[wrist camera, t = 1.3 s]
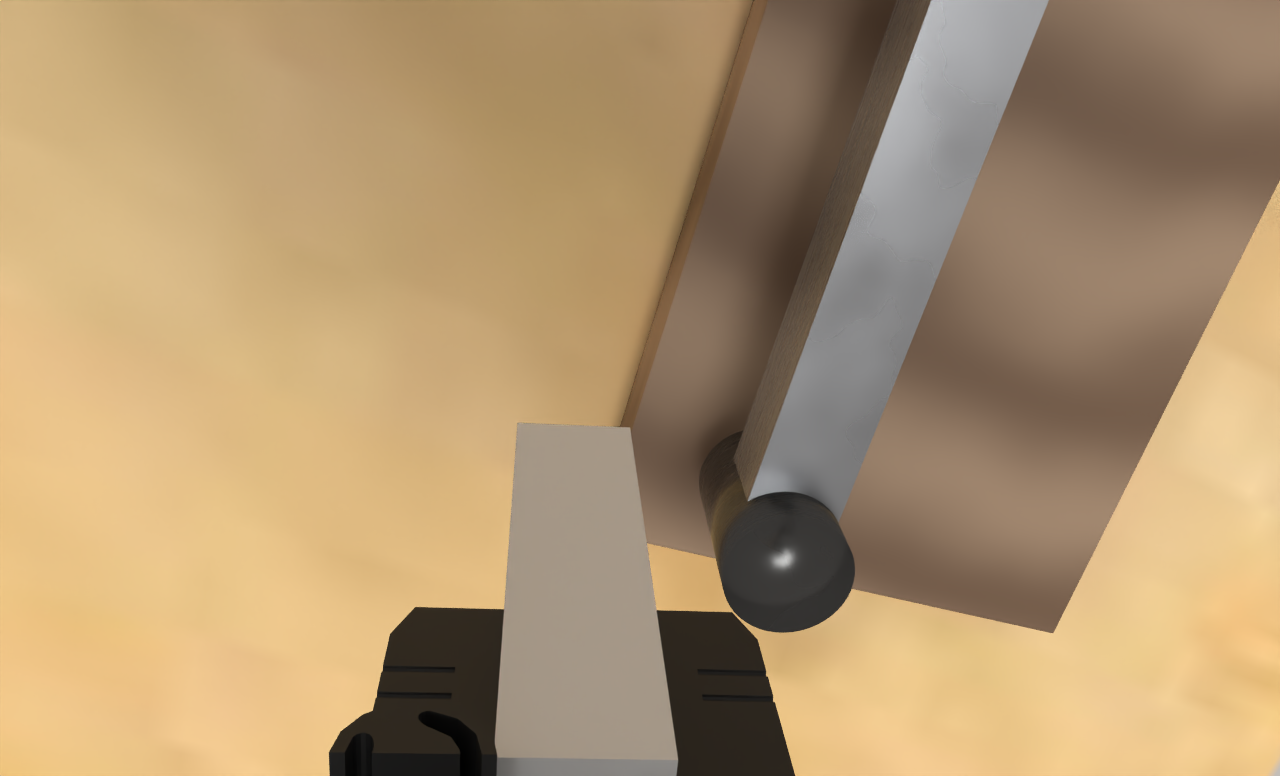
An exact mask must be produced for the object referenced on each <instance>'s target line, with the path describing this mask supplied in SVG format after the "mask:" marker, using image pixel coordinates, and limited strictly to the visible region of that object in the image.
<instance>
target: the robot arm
mask: <svg viewBox="0 0 1280 776" xmlns="http://www.w3.org/2000/svg"><path fill="white" fill-rule="evenodd" d="M329 767H330V776H795V774H794V770H793V766H792V763H791V759H790V756H789V752H788V748H787V745H786V741H785V737H784V734H783V730H782V727H781V723H780V719H779V716H778V712H777V709H776V705H775V702H773V694H772V690H771V687H770V683H769V680H768V677H766V669H765V665H764V662H763V658H762V654H761V651H760V647H759V643H758V640H757V639H756V638H755V637H754V635H753V634H752V633H751V632H750V631H749V630H748V629H747V628H746V627H745V626H744V625H743V624H742V623H741V622H740V620H739V619H738V618H737V617H736V616H735V615H734V614H733V613H732V612H698V611H660V610H656V603H655V597H654V590H653V583H652V576H651V569H650V562H649V555H648V548H647V541H646V534H645V527H644V520H643V514H642V507H641V500H640V493H639V486H638V479H637V472H636V465H635V458H634V451H633V444H632V438H631V431H630V427H606V426H582V425H558V424H534V423H517V437H516V451H515V465H514V479H513V493H512V507H511V521H510V535H509V549H508V563H507V577H506V591H505V605H504V609H466V608H428V607H415V608H414V609H413V610H412V611H411V612H410V614H409V615H408V616H407V617H406V618H405V619H404V620H403V621H402V622H401V623H400V624H399V625H398V626H397V627H396V628H395V629H394V631H393V632H392V633H391V634H390V637H389V642H388V646H387V651H386V655H385V659H384V664H383V672H382V673H381V677H380V682H379V686H378V690H377V698H376V699H375V704H374V708H373V711H371V712H369V713H366V714H363V715H362V716H360V717H359V718H358V719H356V720H355V721H354V722H353V723H351V724H350V725H349V726H347V727H346V728H345V729H343V730H342V731H341V732H340V734H339V736H338V737H337V739H336V741H335V743H334V744H333V746H332V748H331V750H330V752H329Z"/></svg>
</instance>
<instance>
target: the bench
mask: <svg viewBox="0 0 1280 776" xmlns="http://www.w3.org/2000/svg"><path fill="white" fill-rule="evenodd" d="M896 1H897V0H754V1H753V4H752V7H751V10H750V14H749V17H748V20H747V23H746V26H745V30H744V33H743V36H742V39H741V42H740V46H739V49H738V52H737V55H736V58H735V62H734V65H733V68H732V71H731V74H730V78H729V81H728V84H727V87H726V90H725V93H724V97H723V100H722V103H721V106H720V109H719V113H718V116H717V119H716V122H715V125H714V129H713V132H712V135H711V138H710V141H709V145H708V148H707V151H706V154H705V157H704V161H703V164H702V167H701V170H700V173H699V177H698V180H697V183H696V186H695V189H694V193H693V196H692V199H691V202H690V205H689V209H688V212H687V215H686V218H685V221H684V224H683V228H682V231H681V234H680V237H679V240H678V244H677V247H676V250H675V253H674V256H673V260H672V263H671V266H670V269H669V272H668V276H667V279H666V282H665V285H664V288H663V292H662V295H661V298H660V301H659V304H658V308H657V311H656V314H655V317H654V320H653V324H652V327H651V330H650V333H649V336H648V339H647V343H646V346H645V349H644V352H643V355H642V359H641V362H640V365H639V368H638V371H637V375H636V378H635V381H634V384H633V387H632V391H631V394H630V397H629V400H628V403H627V407H626V410H625V413H624V416H623V419H622V423H621V426H620V427H630V431H631V438H632V444H633V451H634V458H635V465H636V472H637V479H638V486H639V493H640V500H641V507H642V514H643V520H644V527H645V534H646V541H647V543H649V544H653V545H658V546H662V547H667V548H671V549H676V550H680V551H685V552H689V553H694V554H698V555H703V556H707V557H712V558H716V557H715V553H714V549H713V545H712V541H711V537H710V532H709V528H708V524H707V520H706V516H705V512H704V508H703V504H702V500H701V496H700V490H699V475H700V471H701V467H702V465H703V462H704V460H705V459H706V457H707V455H708V454H709V453H710V451H711V450H712V449H713V448H714V447H715V446H716V445H717V444H718V443H719V442H720V441H722V440H723V439H725V438H726V437H728V436H730V435H732V434H734V433H736V432H739V431H742V430H744V427H745V425H746V422H747V419H748V416H749V413H750V411H751V408H752V405H753V402H754V399H755V397H756V394H757V391H758V388H759V385H760V382H761V380H762V377H763V374H764V371H765V368H766V366H767V363H768V360H769V357H770V354H771V352H772V349H773V346H774V343H775V340H776V338H777V335H778V332H779V329H780V326H781V324H782V321H783V318H784V315H785V312H786V310H787V307H788V304H789V301H790V298H791V296H792V293H793V290H794V287H795V284H796V281H797V279H798V276H799V273H800V270H801V267H802V265H803V262H804V259H805V256H806V253H807V251H808V248H809V245H810V242H811V239H812V237H813V234H814V231H815V228H816V225H817V223H818V220H819V217H820V214H821V211H822V209H823V206H824V203H825V200H826V197H827V195H828V192H829V189H830V186H831V183H832V180H833V178H834V175H835V172H836V169H837V166H838V164H839V161H840V158H841V155H842V152H843V150H844V147H845V144H846V141H847V138H848V136H849V133H850V130H851V127H852V124H853V122H854V119H855V116H856V113H857V110H858V108H859V105H860V102H861V99H862V96H863V94H864V91H865V88H866V85H867V82H868V79H869V77H870V74H871V71H872V68H873V65H874V63H875V60H876V57H877V54H878V51H879V49H880V46H881V43H882V40H883V37H884V35H885V32H886V29H887V26H888V23H889V21H890V18H891V15H892V12H893V9H894V7H895V4H896ZM1279 180H1280V0H1049V1H1048V4H1047V6H1046V9H1045V11H1044V14H1043V16H1042V19H1041V21H1040V23H1039V26H1038V28H1037V31H1036V33H1035V36H1034V38H1033V41H1032V43H1031V46H1030V48H1029V51H1028V53H1027V56H1026V58H1025V61H1024V63H1023V66H1022V68H1021V71H1020V73H1019V76H1018V78H1017V81H1016V83H1015V86H1014V88H1013V91H1012V93H1011V96H1010V98H1009V100H1008V103H1007V105H1006V108H1005V110H1004V113H1003V115H1002V118H1001V120H1000V123H999V125H998V128H997V130H996V133H995V135H994V138H993V140H992V143H991V145H990V148H989V150H988V153H987V155H986V158H985V160H984V163H983V165H982V168H981V170H980V173H979V175H978V177H977V180H976V182H975V185H974V187H973V190H972V192H971V195H970V197H969V200H968V202H967V205H966V207H965V210H964V212H963V215H962V217H961V220H960V222H959V225H958V227H957V230H956V232H955V235H954V237H953V240H952V242H951V245H950V247H949V250H948V252H947V254H946V257H945V259H944V262H943V264H942V267H941V269H940V272H939V274H938V277H937V279H936V282H935V284H934V287H933V289H932V292H931V294H930V297H929V299H928V302H927V304H926V307H925V309H924V312H923V314H922V317H921V319H920V322H919V324H918V327H917V329H916V331H915V334H914V336H913V339H912V341H911V344H910V346H909V349H908V351H907V354H906V356H905V359H904V361H903V364H902V366H901V369H900V371H899V374H898V376H897V379H896V381H895V384H894V386H893V389H892V391H891V394H890V396H889V399H888V401H887V403H886V406H885V408H884V411H883V413H882V416H881V418H880V421H879V423H878V426H877V428H876V431H875V433H874V436H873V438H872V441H871V443H870V446H869V448H868V451H867V453H866V456H865V458H864V461H863V463H862V466H861V468H860V471H859V473H858V476H857V478H856V480H855V483H854V485H853V488H852V490H851V493H850V495H849V498H848V500H847V503H846V505H845V508H844V510H843V513H842V515H841V518H840V520H839V525H840V527H841V530H842V532H843V534H844V536H845V538H846V541H847V543H848V545H849V547H850V549H851V552H852V554H853V558H854V562H855V577H854V583H853V586H852V589H856V590H860V591H865V592H869V593H874V594H878V595H883V596H887V597H892V598H896V599H901V600H905V601H910V602H914V603H919V604H923V605H928V606H932V607H937V608H941V609H946V610H950V611H955V612H959V613H964V614H968V615H973V616H977V617H982V618H986V619H991V620H995V621H1000V622H1004V623H1009V624H1013V625H1018V626H1022V627H1027V628H1031V629H1036V630H1040V631H1045V632H1049V633H1053V632H1054V630H1055V628H1056V626H1057V624H1058V622H1059V620H1060V618H1061V616H1062V614H1063V612H1064V610H1065V608H1066V606H1067V604H1068V602H1069V600H1070V598H1071V596H1072V594H1073V592H1074V590H1075V588H1076V586H1077V584H1078V582H1079V580H1080V578H1081V576H1082V574H1083V572H1084V570H1085V568H1086V566H1087V564H1088V562H1089V560H1090V558H1091V556H1092V554H1093V552H1094V550H1095V548H1096V546H1097V544H1098V542H1099V540H1100V538H1101V536H1102V534H1103V532H1104V530H1105V528H1106V526H1107V524H1108V522H1109V520H1110V518H1111V516H1112V514H1113V512H1114V510H1115V508H1116V506H1117V504H1118V502H1119V500H1120V498H1121V496H1122V494H1123V492H1124V490H1125V488H1126V486H1127V484H1128V482H1129V480H1130V478H1131V476H1132V474H1133V472H1134V470H1135V468H1136V466H1137V464H1138V462H1139V460H1140V458H1141V456H1142V454H1143V452H1144V450H1145V448H1146V446H1147V444H1148V442H1149V440H1150V438H1151V436H1152V434H1153V432H1154V430H1155V428H1156V426H1157V424H1158V422H1159V420H1160V418H1161V416H1162V414H1163V412H1164V410H1165V408H1166V406H1167V404H1168V402H1169V400H1170V398H1171V396H1172V394H1173V392H1174V390H1175V388H1176V386H1177V384H1178V382H1179V380H1180V378H1181V376H1182V374H1183V372H1184V370H1185V368H1186V366H1187V364H1188V362H1189V360H1190V358H1191V356H1192V354H1193V352H1194V350H1195V348H1196V346H1197V344H1198V342H1199V340H1200V338H1201V336H1202V334H1203V332H1204V330H1205V328H1206V326H1207V324H1208V322H1209V320H1210V318H1211V316H1212V314H1213V312H1214V310H1215V308H1216V306H1217V304H1218V302H1219V300H1220V298H1221V296H1222V294H1223V292H1224V290H1225V288H1226V286H1227V284H1228V282H1229V280H1230V278H1231V276H1232V274H1233V272H1234V270H1235V268H1236V266H1237V264H1238V262H1239V260H1240V258H1241V256H1242V254H1243V252H1244V250H1245V248H1246V246H1247V244H1248V242H1249V240H1250V238H1251V236H1252V234H1253V232H1254V230H1255V228H1256V226H1257V224H1258V222H1259V220H1260V218H1261V216H1262V214H1263V212H1264V210H1265V208H1266V206H1267V204H1268V202H1269V200H1270V198H1271V196H1272V194H1273V192H1274V190H1275V188H1276V186H1277V184H1278V182H1279Z"/></svg>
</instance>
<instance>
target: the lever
mask: <svg viewBox="0 0 1280 776" xmlns="http://www.w3.org/2000/svg"><path fill="white" fill-rule="evenodd" d="M1048 1H1049V0H897V1H896V4H895V7H894V9H893V12H892V15H891V18H890V21H889V23H888V26H887V29H886V32H885V35H884V37H883V40H882V43H881V46H880V49H879V51H878V54H877V57H876V60H875V63H874V65H873V68H872V71H871V74H870V77H869V79H868V82H867V85H866V88H865V91H864V94H863V96H862V99H861V102H860V105H859V108H858V110H857V113H856V116H855V119H854V122H853V124H852V127H851V130H850V133H849V136H848V138H847V141H846V144H845V147H844V150H843V152H842V155H841V158H840V161H839V164H838V166H837V169H836V172H835V175H834V178H833V180H832V183H831V186H830V189H829V192H828V195H827V197H826V200H825V203H824V206H823V209H822V211H821V214H820V217H819V220H818V223H817V225H816V228H815V231H814V234H813V237H812V239H811V242H810V245H809V248H808V251H807V253H806V256H805V259H804V262H803V265H802V267H801V270H800V273H799V276H798V279H797V281H796V284H795V287H794V290H793V293H792V296H791V298H790V301H789V304H788V307H787V310H786V312H785V315H784V318H783V321H782V324H781V326H780V329H779V332H778V335H777V338H776V340H775V343H774V346H773V349H772V352H771V354H770V357H769V360H768V363H767V366H766V368H765V371H764V374H763V377H762V380H761V382H760V385H759V388H758V391H757V394H756V397H755V399H754V402H753V405H752V408H751V411H750V413H749V416H748V419H747V422H746V425H745V427H744V430H742V431H739V432H736V433H734V434H732V435H730V436H728V437H726V438H725V439H723V440H722V441H720V442H719V443H718V444H717V445H716V446H715V447H714V448H713V449H712V450H711V451H710V453H709V454H708V455H707V457H706V459H705V460H704V462H703V465H702V467H701V471H700V475H699V490H700V496H701V500H702V504H703V508H704V512H705V516H706V520H707V524H708V528H709V532H710V537H711V541H712V545H713V549H714V553H715V557H716V561H717V565H718V569H719V574H720V578H721V582H722V586H723V590H724V594H725V597H726V599H727V601H728V603H729V605H730V607H731V608H732V609H733V611H734V612H735V613H736V614H737V615H738V616H739V617H740V618H741V619H743V620H744V621H745V622H747V623H748V624H750V625H752V626H754V627H757V628H759V629H762V630H766V631H771V632H795V631H800V630H804V629H807V628H810V627H813V626H815V625H817V624H819V623H821V622H823V621H824V620H826V619H827V618H829V617H830V616H831V615H833V614H834V613H835V612H836V611H837V610H838V609H839V608H840V607H841V605H842V604H843V603H844V602H845V600H846V599H847V597H848V595H849V593H850V591H851V589H852V586H853V583H854V577H855V562H854V558H853V554H852V552H851V549H850V547H849V545H848V543H847V541H846V538H845V536H844V534H843V532H842V530H841V527H840V525H839V520H840V518H841V515H842V513H843V510H844V508H845V505H846V503H847V500H848V498H849V495H850V493H851V490H852V488H853V485H854V483H855V480H856V478H857V476H858V473H859V471H860V468H861V466H862V463H863V461H864V458H865V456H866V453H867V451H868V448H869V446H870V443H871V441H872V438H873V436H874V433H875V431H876V428H877V426H878V423H879V421H880V418H881V416H882V413H883V411H884V408H885V406H886V403H887V401H888V399H889V396H890V394H891V391H892V389H893V386H894V384H895V381H896V379H897V376H898V374H899V371H900V369H901V366H902V364H903V361H904V359H905V356H906V354H907V351H908V349H909V346H910V344H911V341H912V339H913V336H914V334H915V331H916V329H917V327H918V324H919V322H920V319H921V317H922V314H923V312H924V309H925V307H926V304H927V302H928V299H929V297H930V294H931V292H932V289H933V287H934V284H935V282H936V279H937V277H938V274H939V272H940V269H941V267H942V264H943V262H944V259H945V257H946V254H947V252H948V250H949V247H950V245H951V242H952V240H953V237H954V235H955V232H956V230H957V227H958V225H959V222H960V220H961V217H962V215H963V212H964V210H965V207H966V205H967V202H968V200H969V197H970V195H971V192H972V190H973V187H974V185H975V182H976V180H977V177H978V175H979V173H980V170H981V168H982V165H983V163H984V160H985V158H986V155H987V153H988V150H989V148H990V145H991V143H992V140H993V138H994V135H995V133H996V130H997V128H998V125H999V123H1000V120H1001V118H1002V115H1003V113H1004V110H1005V108H1006V105H1007V103H1008V100H1009V98H1010V96H1011V93H1012V91H1013V88H1014V86H1015V83H1016V81H1017V78H1018V76H1019V73H1020V71H1021V68H1022V66H1023V63H1024V61H1025V58H1026V56H1027V53H1028V51H1029V48H1030V46H1031V43H1032V41H1033V38H1034V36H1035V33H1036V31H1037V28H1038V26H1039V23H1040V21H1041V19H1042V16H1043V14H1044V11H1045V9H1046V6H1047V4H1048Z"/></svg>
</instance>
